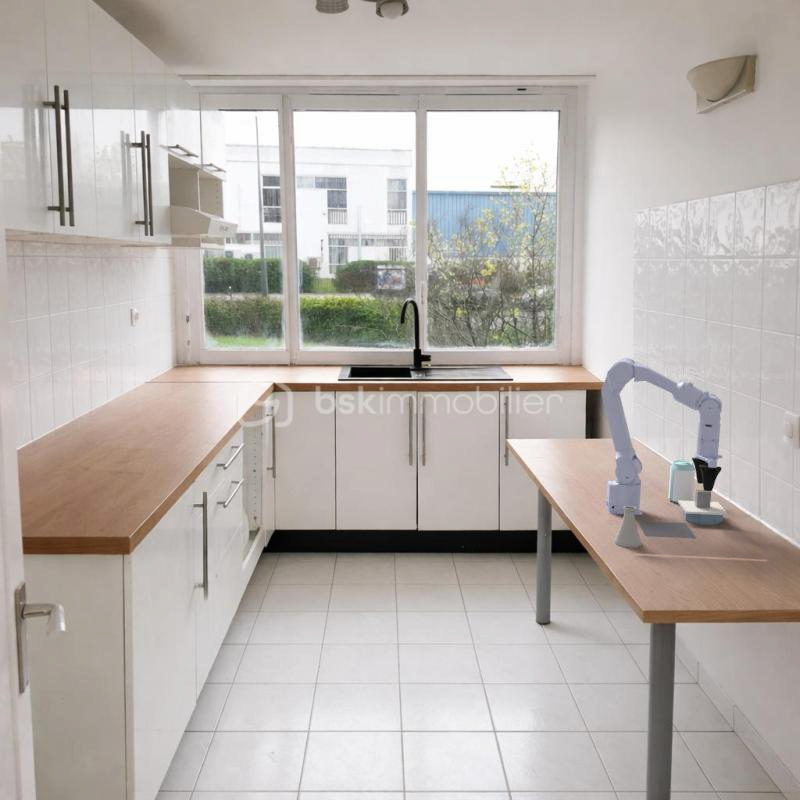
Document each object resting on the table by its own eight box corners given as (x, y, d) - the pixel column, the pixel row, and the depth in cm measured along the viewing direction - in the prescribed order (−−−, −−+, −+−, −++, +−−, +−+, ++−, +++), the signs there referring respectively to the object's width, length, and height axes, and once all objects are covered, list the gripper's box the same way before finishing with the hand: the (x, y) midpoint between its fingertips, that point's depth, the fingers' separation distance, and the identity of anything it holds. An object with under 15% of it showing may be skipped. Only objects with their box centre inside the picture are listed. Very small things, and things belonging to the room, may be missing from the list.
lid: (686, 513, 245) (687, 495, 244) (678, 502, 255) (679, 485, 255) (727, 515, 244) (728, 497, 243) (717, 504, 254) (718, 486, 254)
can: (683, 497, 274) (685, 459, 272) (697, 503, 268) (700, 464, 265) (663, 498, 272) (666, 460, 270) (677, 505, 265) (680, 465, 263)
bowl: (687, 525, 246) (688, 513, 245) (680, 514, 255) (681, 503, 255) (725, 527, 245) (726, 514, 244) (716, 516, 255) (717, 504, 254)
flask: (640, 551, 224) (643, 512, 223) (611, 547, 227) (613, 509, 225) (643, 542, 231) (645, 505, 229) (614, 539, 233) (617, 502, 232)
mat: (645, 537, 235) (645, 535, 235) (637, 522, 248) (637, 521, 247) (696, 539, 233) (696, 538, 233) (685, 524, 246) (685, 523, 246)
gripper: (730, 445, 239) (726, 494, 241) (716, 434, 253) (713, 480, 255) (702, 444, 239) (699, 493, 242) (691, 433, 254) (687, 479, 256)
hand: (704, 486), depth 248 cm, fingers open, 7 cm apart
